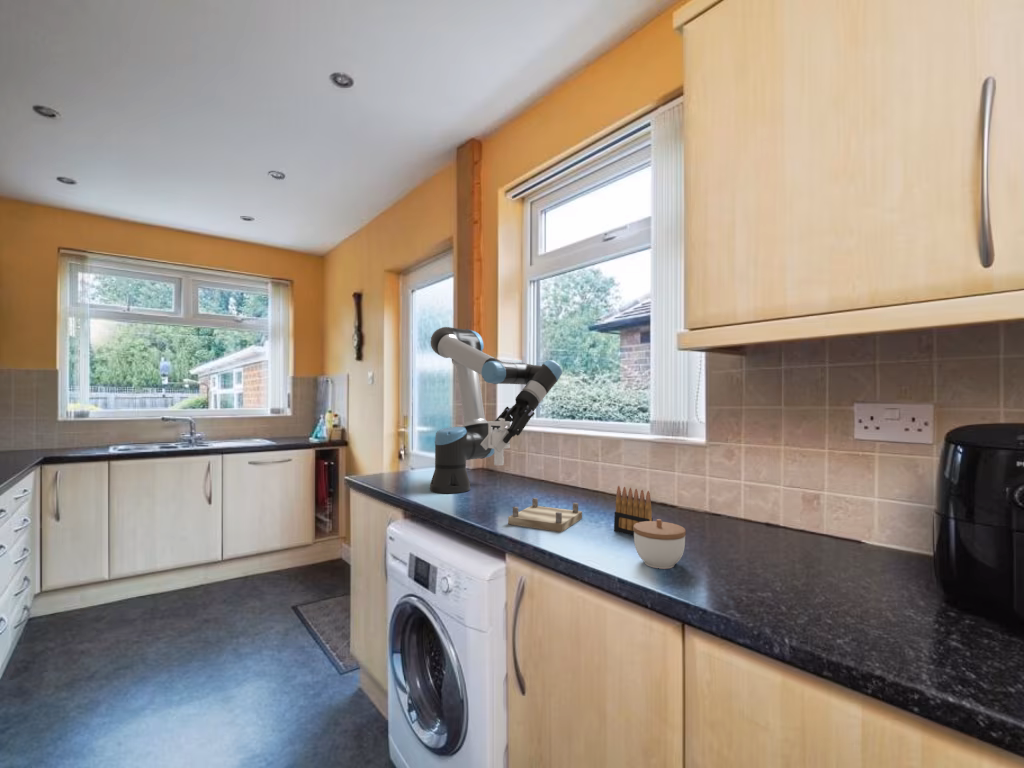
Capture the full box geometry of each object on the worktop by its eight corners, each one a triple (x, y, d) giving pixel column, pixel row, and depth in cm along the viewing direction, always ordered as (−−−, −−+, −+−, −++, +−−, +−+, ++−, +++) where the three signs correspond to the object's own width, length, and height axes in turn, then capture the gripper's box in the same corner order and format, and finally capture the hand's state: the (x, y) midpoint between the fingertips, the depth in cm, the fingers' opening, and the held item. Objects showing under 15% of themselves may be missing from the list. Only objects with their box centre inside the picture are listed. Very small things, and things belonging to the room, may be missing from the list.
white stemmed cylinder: (492, 466, 147) (492, 418, 147) (484, 463, 154) (485, 417, 154) (513, 465, 150) (513, 418, 150) (505, 462, 156) (505, 417, 156)
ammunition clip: (653, 538, 119) (653, 490, 119) (649, 540, 118) (649, 491, 118) (617, 529, 127) (617, 484, 127) (613, 530, 126) (613, 485, 126)
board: (532, 511, 146) (532, 497, 146) (582, 518, 138) (582, 502, 138) (508, 524, 131) (508, 507, 132) (561, 532, 124) (561, 514, 124)
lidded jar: (694, 564, 101) (694, 519, 101) (671, 577, 93) (671, 529, 94) (648, 552, 108) (648, 511, 109) (623, 563, 101) (623, 519, 101)
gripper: (555, 405, 153) (515, 459, 143) (518, 404, 169) (479, 452, 159) (543, 389, 150) (501, 443, 140) (507, 389, 166) (466, 437, 156)
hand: (489, 448), depth 150 cm, fingers closed on white stemmed cylinder, 7 cm apart
